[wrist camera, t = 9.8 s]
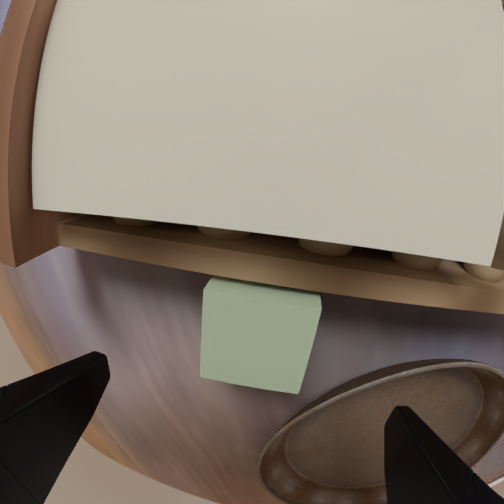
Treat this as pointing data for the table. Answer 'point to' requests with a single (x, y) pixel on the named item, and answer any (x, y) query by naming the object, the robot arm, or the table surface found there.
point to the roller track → (200, 237)
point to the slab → (280, 119)
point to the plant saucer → (380, 429)
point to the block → (257, 333)
